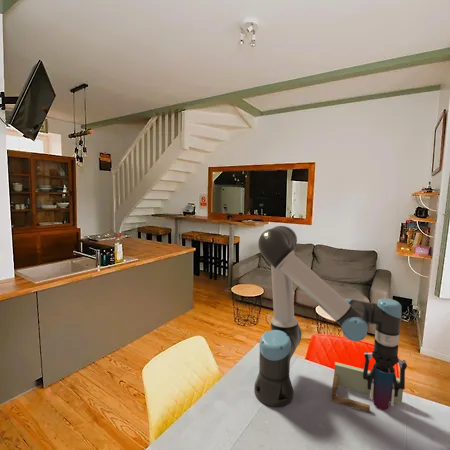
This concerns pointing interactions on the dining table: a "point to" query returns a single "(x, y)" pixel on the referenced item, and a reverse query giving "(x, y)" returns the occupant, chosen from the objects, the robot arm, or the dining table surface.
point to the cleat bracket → (345, 400)
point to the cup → (382, 387)
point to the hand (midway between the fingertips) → (381, 400)
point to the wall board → (357, 380)
